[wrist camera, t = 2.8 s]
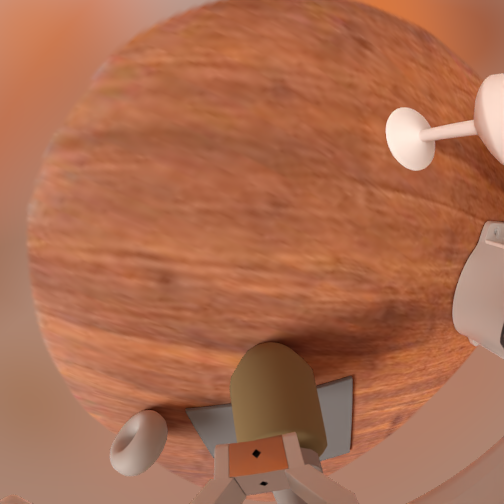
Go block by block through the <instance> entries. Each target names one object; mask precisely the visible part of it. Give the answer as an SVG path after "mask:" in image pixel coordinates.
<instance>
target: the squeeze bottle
mask: <svg viewBox="0 0 504 504" xmlns="http://www.w3.org/2000/svg"><path fill="white" fill-rule="evenodd" d="M230 397H231V404H232V412H233V419H234V426H235V432H236V439H237V443H239V442H247V441H254V440H257V439H263V438H268V437H272V436H277V435H281V434H282V435H283V434H287V433H291V432H296V434H297V438H298V441H299V445H300V449H301V452H302V456H303V460H304V464H305V465H307V464H310V465H311V466H312V467H314V468H315V469H317V470H318V471H320V472H321V473H323V471H322V467H321V463H320V460H319V457H320V456H321V455H322V454H323V452H324V451H325V449H326V447H327V446H328V445H327V437H326V432H325V427H324V422H323V417H322V412H321V407H320V402H319V397H318V393H317V388H316V383H315V378H314V374H313V369H312V368H311V367H310V366H309V365H308V364H307V362H306V361H305V360H304V359H303V358H301V357H300V356H299V355H298V354H297V353H295V352H294V351H293V350H292V349H291V348H289V347H288V346H285V345H283V344H281V343H273V342H267V343H263V344H259V345H256V346H254V347H253V348H251V349H250V350H248V351H247V352H246V354H245V355H244V357H243V358H242V359H241V361H240V363H239V365H238V366H237V368H236V370H235V371H234V373H233V375H232V376H231V381H230ZM282 438H283V437H282ZM273 494H274V497H275V499H276V501H277V503H278V504H308V503H306V502H305V501H304V500H303V499H301V498H300V497H299V496H298V495H297V494H296V493H294V492H293V491H292V490H291V489H285V490H280V491H273Z"/></svg>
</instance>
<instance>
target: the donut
mask: <svg viewBox="0 0 504 504" xmlns="http://www.w3.org/2000/svg"><path fill="white" fill-rule="evenodd" d="M167 434H168V429H167V424H166V421H165V419H164V418H163V417H162V416H161V415H160V414H159V413H158V412H156V411H152V410H144V411H141V412H139V413H137V414H135V415H134V416H133V417H131V418H130V419H129V420H128V421H127V422H126V423H125V424H124V426H123V427H122V428H121V430H120V431H119V433H118V434H117V436H116V437H115V439H114V441H113V444H112V446H111V450H110V461H111V464H112V466H113V468H114V469H115V470H117V471H118V472H119V473H121V474H123V475H125V476H136V475H139V474H141V473H143V472H145V471H146V470H147V469H148V468H150V467H151V466H152V465H153V464H154V462H155V461H156V460H157V459H158V457H159V456H160V454H161V452H162V450H163V448H164V445H165V443H166V440H167Z"/></svg>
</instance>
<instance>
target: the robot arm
mask: <svg viewBox="0 0 504 504" xmlns="http://www.w3.org/2000/svg"><path fill="white" fill-rule="evenodd" d="M452 316H453V323H454V326H455V328H456V330H457V331H458V332H459V333H460V334H462V335H465V336H467V337H468V339H469V341H470V343H471V344H472V345H474V346H478V345H479V344H480V345H481V346H483V347H485V348H487V349H488V350H490V351H491V352H493V353H495V354H496V355H498V356H500V357H501V358H503V359H504V222H498V221H487V222H486V223H485V225H484V227H483V230H482V233H481V236H480V239H479V242H478V244H477V246H476V247H475V249H474V250H473V252H472V253H471V255H470V257H469V258H468V260H467V262H466V264H465V266H464V268H463V270H462V273H461V275H460V278H459V281H458V284H457V287H456V291H455V295H454V300H453V309H452ZM282 437H283V438H282ZM285 489H291V490H292V491H293V492H294V493H296V494H297V495H298V496H299V497H300V498H301V499H303V500H304V501H305V502H306V503H308V504H359V503H358V501H357V498H356V496H355V493H353V492H351V491H350V490H348V489H346V488H345V487H343V486H341V485H340V484H338V483H337V482H335V481H333V480H332V479H330V478H329V477H327V476H326V475H324V474H323V473H321V472H320V471H318V470H317V469H315V468H314V467H312V466H311V465H310V464H307V465H305V464H304V460H303V456H302V452H301V449H300V445H299V441H298V438H297V434H296V432H291V433H287V434H283V435H282V434H281V435H277V436H272V437H268V438H263V439H257V440H254V441H247V442H239V443H231V444H221V445H216V447H215V459H214V479H210V480H209V481H208V483H207V484H206V485H205V486H204V487H203V488H202V490H201V491H200V492H199V493H198V494H197V495H196V497H195V498H194V499H193V500H192V501H191V502H190V503H189V504H242V503H243V501H244V500H245V498H246V496H247V495H254V494H261V493H266V492H273V491H280V490H285ZM0 504H33V503H31V502H29V501H27V500H25V499H23V498H22V497H19V496H17V495H14V494H13V495H9V496H6V497H4V498H2V499H0ZM407 504H504V437H502V438H501V439H500V440H499V441H498V442H497V443H496V444H495V445H493V446H492V447H491V448H490V449H489V450H488V451H486V452H485V453H484V454H483V455H482V456H480V457H479V458H478V459H477V460H475V461H474V462H473V463H471V464H470V465H469V466H467V467H466V468H465V469H463V470H462V471H460V472H459V473H457V474H456V475H454V476H453V477H452V478H450V479H449V480H447V481H446V482H444V483H442V484H441V485H439V486H437V487H436V488H434V489H432V490H431V491H429V492H427V493H426V494H424V495H422V496H420V497H418V498H416V499H415V500H413V501H411V502H409V503H407Z"/></svg>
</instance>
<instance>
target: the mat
mask: <svg viewBox="0 0 504 504" xmlns="http://www.w3.org/2000/svg"><path fill="white" fill-rule="evenodd" d="M316 388H317V393H318V397H319V402H320V407H321V412H322V417H323V422H324V427H325V432H326V437H327V445H328V446H327V447H326V449H325V451H324V452H323V454H322V455H321V456H320V457H319V460H320V461H322V460H326V459H329V458H333V457H336V456H340V455H343V454H346V453H349V452H350V440H351V423H352V376H348V377H345V378H342V379H339V380H336V381H332V382H329V383H325V384H322V385H318V386H316ZM186 413H187V415H188V417H189V419H190V420H191V422H192V424H193V426H194V427H195V429H196V431H197V432H198V434H199V436H200V437H201V439H202V441H203V442H204V444H205V445H206V447H207V449H208V450H209V452H210V453H211V455H212V456H213V458H214V459H215V447H216V445H221V444H231V443H237V439H236V432H235V426H234V419H233V412H232V404H224V405H216V406H207V407H197V408H186Z"/></svg>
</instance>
